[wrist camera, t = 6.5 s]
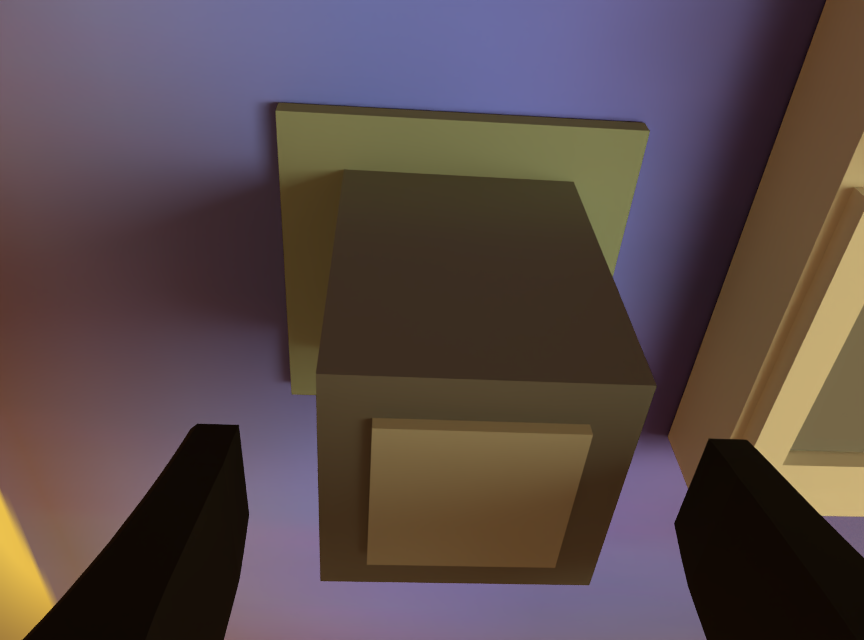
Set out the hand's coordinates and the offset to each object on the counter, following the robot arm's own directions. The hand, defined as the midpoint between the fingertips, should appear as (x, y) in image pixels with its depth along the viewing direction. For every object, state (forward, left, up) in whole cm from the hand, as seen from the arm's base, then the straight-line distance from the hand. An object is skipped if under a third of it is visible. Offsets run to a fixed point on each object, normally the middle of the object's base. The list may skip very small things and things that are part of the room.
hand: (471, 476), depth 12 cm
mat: (0, 0, -6) cm, 6 cm away
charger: (0, 0, -6) cm, 6 cm away
